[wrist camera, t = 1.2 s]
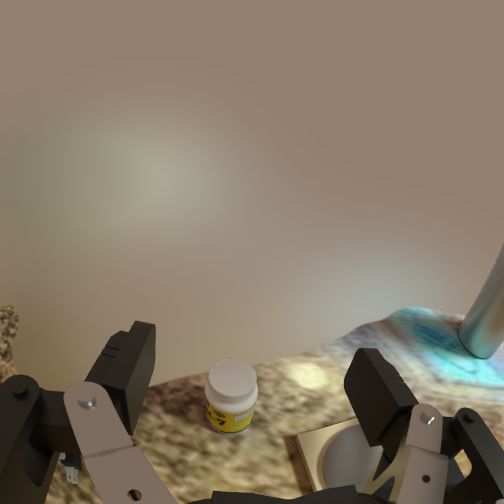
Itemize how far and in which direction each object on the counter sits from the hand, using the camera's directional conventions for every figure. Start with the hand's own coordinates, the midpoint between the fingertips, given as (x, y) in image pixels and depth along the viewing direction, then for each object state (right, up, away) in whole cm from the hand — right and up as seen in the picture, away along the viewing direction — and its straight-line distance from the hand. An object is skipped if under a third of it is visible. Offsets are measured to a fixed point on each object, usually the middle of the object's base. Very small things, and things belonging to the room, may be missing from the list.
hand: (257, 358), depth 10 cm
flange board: (+11, -18, +10) cm, 24 cm away
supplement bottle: (-3, -13, +16) cm, 21 cm away
